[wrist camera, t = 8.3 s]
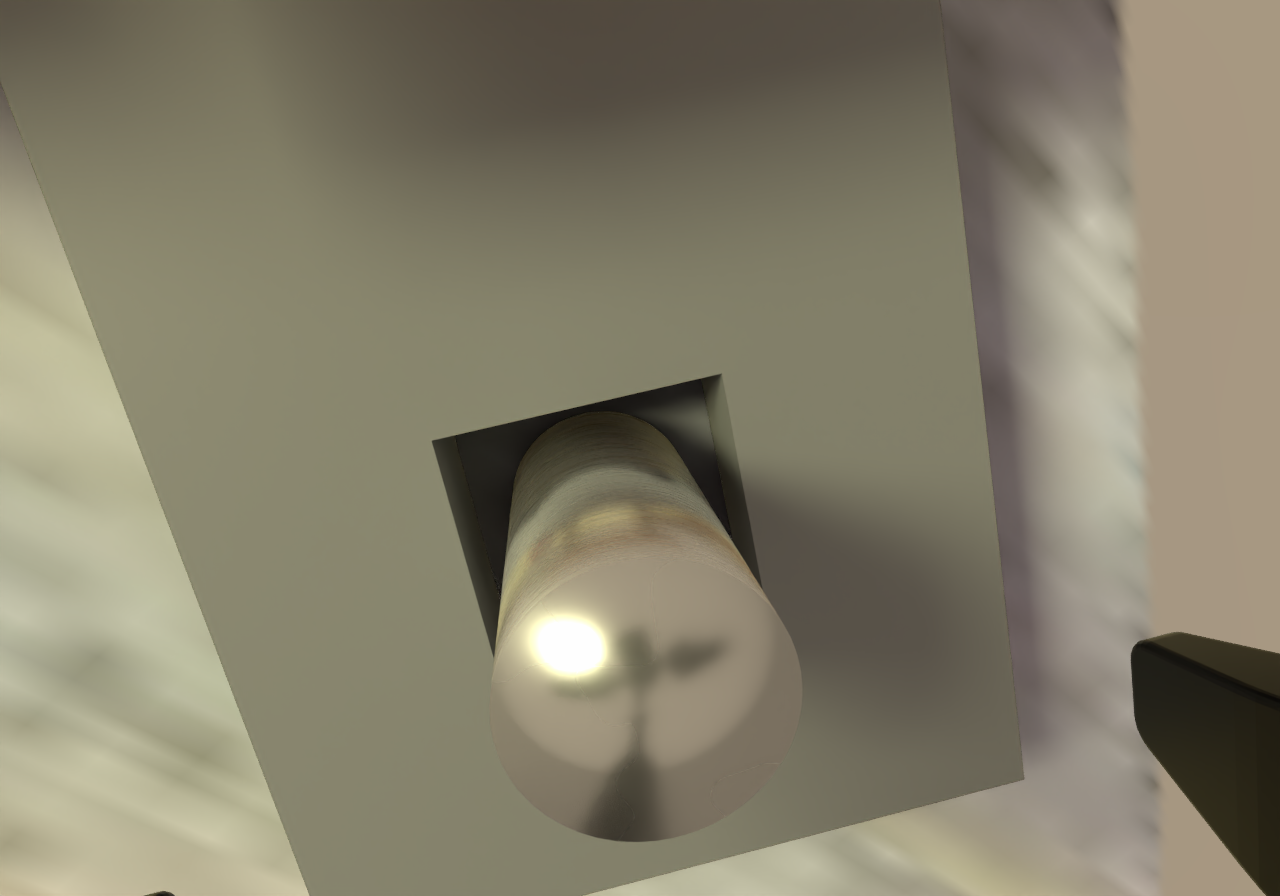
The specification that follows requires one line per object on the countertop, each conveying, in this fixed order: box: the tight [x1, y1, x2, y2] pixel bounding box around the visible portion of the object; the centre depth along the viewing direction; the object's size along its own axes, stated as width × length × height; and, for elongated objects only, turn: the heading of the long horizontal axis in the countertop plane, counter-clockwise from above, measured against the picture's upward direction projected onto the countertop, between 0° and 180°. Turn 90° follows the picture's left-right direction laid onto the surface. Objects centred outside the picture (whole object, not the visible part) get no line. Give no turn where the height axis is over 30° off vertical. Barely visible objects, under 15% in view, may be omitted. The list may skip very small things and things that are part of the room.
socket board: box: [0, 0, 1024, 896], centre depth 12 cm, size 22×14×9 cm, turn 12°
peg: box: [489, 411, 803, 842], centre depth 14 cm, size 4×4×8 cm
